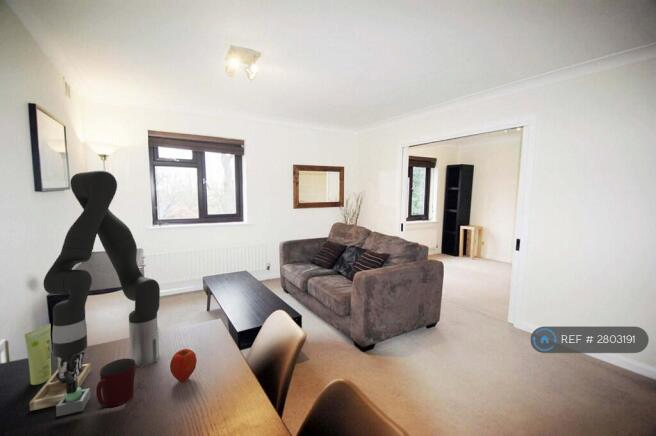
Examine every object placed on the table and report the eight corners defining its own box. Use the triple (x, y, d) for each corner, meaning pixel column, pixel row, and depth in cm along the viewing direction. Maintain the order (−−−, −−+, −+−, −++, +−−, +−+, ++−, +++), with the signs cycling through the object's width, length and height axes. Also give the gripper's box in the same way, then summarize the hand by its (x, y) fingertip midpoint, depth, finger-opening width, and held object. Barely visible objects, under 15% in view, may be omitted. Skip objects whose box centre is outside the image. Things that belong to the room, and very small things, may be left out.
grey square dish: (90, 400, 88) (89, 388, 88) (83, 413, 83) (82, 400, 83) (66, 405, 86) (65, 393, 86) (56, 419, 81) (56, 406, 80)
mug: (113, 418, 81) (112, 382, 81) (84, 417, 82) (82, 381, 81) (142, 390, 93) (141, 358, 93) (116, 389, 94) (115, 358, 93)
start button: (83, 395, 87) (83, 386, 86) (79, 403, 83) (78, 393, 83) (68, 399, 85) (68, 389, 85) (63, 407, 82) (63, 396, 82)
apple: (201, 380, 99) (200, 351, 98) (175, 392, 93) (174, 361, 92) (191, 370, 105) (191, 342, 104) (166, 380, 99) (166, 351, 98)
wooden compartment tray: (91, 372, 102) (90, 363, 102) (70, 405, 86) (69, 394, 86) (58, 378, 98) (57, 369, 98) (30, 413, 82) (29, 402, 82)
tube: (48, 385, 95) (45, 329, 94) (27, 390, 92) (24, 333, 91) (53, 376, 100) (50, 323, 98) (33, 381, 97) (30, 326, 95)
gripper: (76, 344, 78) (78, 403, 79) (94, 324, 90) (95, 376, 92) (41, 349, 75) (44, 410, 76) (64, 328, 87) (66, 381, 89)
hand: (72, 391), depth 84 cm, fingers closed
